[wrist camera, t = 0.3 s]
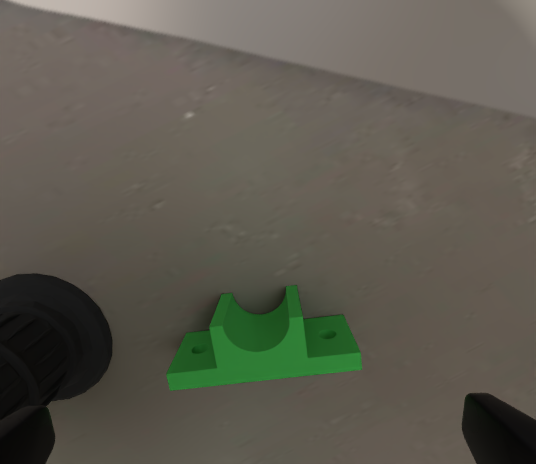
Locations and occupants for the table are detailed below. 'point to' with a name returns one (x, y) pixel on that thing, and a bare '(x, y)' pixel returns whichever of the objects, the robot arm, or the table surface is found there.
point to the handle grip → (48, 342)
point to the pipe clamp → (263, 346)
